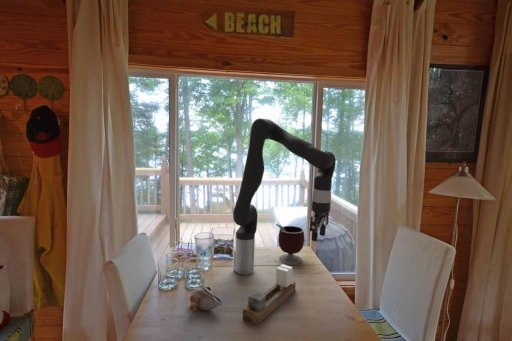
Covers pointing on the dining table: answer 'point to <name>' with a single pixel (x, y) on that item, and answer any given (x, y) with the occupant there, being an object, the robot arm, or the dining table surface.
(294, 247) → the mate gourd
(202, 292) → the decorative duck model
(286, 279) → the block
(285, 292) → the beam
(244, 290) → the dining table surface
